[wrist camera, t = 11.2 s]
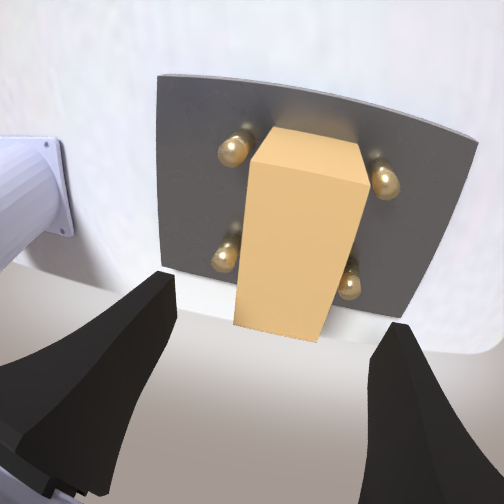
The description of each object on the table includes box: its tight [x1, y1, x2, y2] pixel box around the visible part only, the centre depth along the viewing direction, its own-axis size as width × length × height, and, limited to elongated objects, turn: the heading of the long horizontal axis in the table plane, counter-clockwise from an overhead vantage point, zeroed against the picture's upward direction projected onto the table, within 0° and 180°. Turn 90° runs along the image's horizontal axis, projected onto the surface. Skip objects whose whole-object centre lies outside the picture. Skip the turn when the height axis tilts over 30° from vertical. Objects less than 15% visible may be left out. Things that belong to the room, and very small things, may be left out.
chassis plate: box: [156, 74, 478, 318], centre depth 16 cm, size 16×12×3 cm
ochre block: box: [233, 127, 371, 343], centre depth 15 cm, size 4×8×5 cm, turn 173°
